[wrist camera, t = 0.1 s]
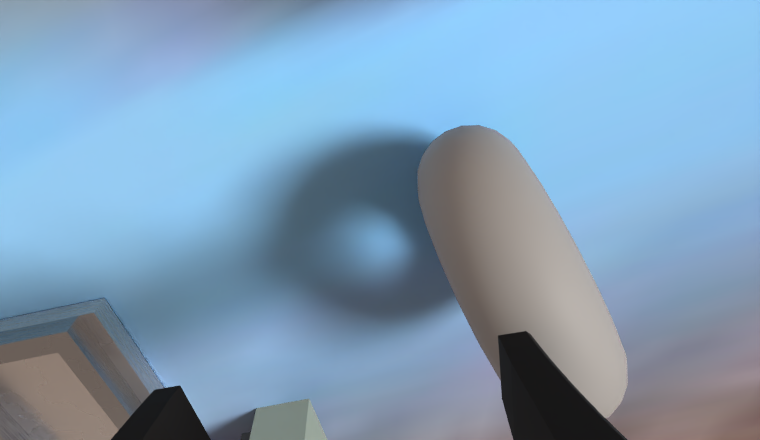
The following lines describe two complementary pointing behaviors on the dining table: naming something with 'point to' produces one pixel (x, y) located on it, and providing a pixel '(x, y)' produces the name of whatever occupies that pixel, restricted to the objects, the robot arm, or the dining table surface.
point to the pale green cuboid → (286, 423)
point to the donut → (517, 260)
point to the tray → (70, 374)
